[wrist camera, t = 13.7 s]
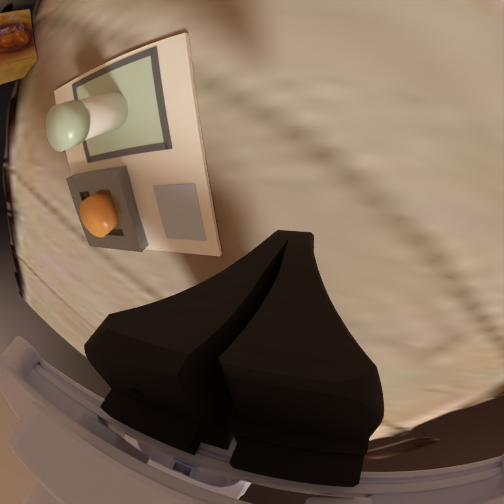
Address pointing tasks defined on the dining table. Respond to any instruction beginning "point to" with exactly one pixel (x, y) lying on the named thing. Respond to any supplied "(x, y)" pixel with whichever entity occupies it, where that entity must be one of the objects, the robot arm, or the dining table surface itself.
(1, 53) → the candy box
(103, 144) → the picture board
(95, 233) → the button
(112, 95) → the marker
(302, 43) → the dining table surface
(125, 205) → the button base
